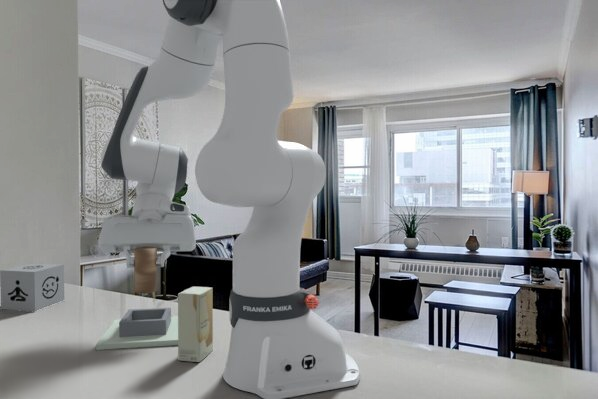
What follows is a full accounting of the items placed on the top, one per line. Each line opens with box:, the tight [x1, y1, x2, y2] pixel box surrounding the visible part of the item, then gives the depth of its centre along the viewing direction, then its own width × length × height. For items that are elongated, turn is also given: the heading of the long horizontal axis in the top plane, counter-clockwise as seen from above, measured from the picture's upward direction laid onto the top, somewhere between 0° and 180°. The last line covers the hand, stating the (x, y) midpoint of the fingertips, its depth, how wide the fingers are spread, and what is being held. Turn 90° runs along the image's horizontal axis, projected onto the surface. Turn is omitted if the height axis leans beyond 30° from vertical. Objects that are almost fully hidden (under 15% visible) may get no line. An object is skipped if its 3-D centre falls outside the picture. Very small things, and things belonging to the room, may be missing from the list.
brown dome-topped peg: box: [133, 247, 158, 294], centre depth 92 cm, size 4×4×9 cm
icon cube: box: [0, 262, 65, 312], centre depth 114 cm, size 10×10×10 cm
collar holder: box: [95, 307, 178, 351], centre depth 93 cm, size 16×16×4 cm
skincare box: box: [177, 286, 214, 363], centre depth 81 cm, size 6×4×12 cm
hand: (145, 265), depth 92 cm, fingers closed on brown dome-topped peg, 4 cm apart
